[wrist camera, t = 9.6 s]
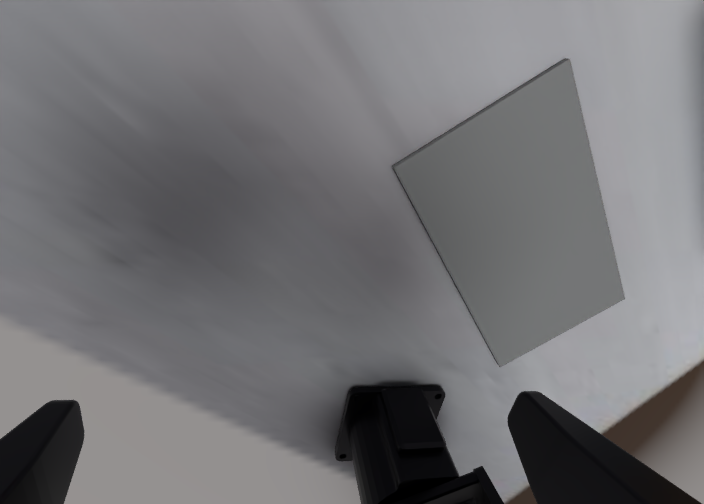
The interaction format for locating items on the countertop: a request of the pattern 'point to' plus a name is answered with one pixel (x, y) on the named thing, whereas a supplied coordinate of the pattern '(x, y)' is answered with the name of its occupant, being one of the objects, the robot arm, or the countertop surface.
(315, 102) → the countertop surface
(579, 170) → the rubber mat
